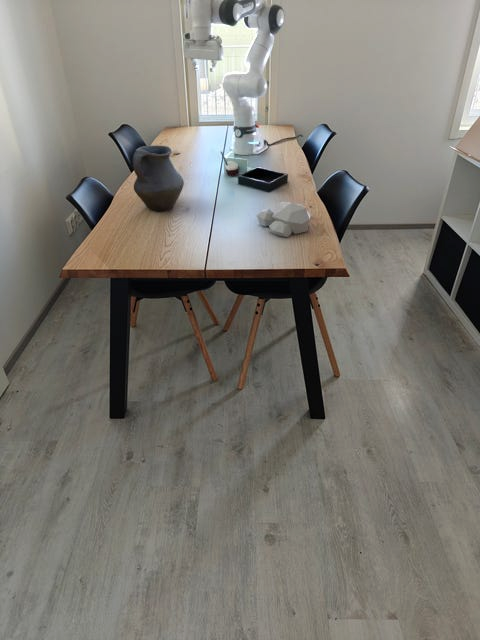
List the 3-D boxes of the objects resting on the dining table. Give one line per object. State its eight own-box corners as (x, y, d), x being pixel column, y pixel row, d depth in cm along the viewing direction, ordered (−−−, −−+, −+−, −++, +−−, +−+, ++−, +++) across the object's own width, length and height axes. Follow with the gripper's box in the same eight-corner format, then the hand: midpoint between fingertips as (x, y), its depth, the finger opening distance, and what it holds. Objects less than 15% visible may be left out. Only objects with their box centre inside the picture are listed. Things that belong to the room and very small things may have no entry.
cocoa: (241, 173, 218) (240, 148, 211) (240, 177, 213) (240, 152, 206) (222, 173, 218) (221, 148, 211) (221, 177, 213) (220, 152, 206)
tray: (257, 175, 215) (257, 166, 213) (287, 182, 207) (288, 173, 204) (237, 184, 206) (237, 175, 203) (268, 192, 197) (269, 183, 194)
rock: (283, 242, 157) (284, 217, 151) (249, 224, 170) (249, 200, 164) (319, 229, 166) (322, 205, 160) (285, 212, 179) (286, 189, 173)
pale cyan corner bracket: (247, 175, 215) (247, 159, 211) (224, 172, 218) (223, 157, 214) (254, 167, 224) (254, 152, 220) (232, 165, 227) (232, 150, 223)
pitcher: (195, 203, 187) (191, 142, 172) (163, 222, 172) (155, 157, 157) (157, 194, 196) (150, 135, 181) (124, 211, 181) (113, 149, 166)
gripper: (225, 35, 190) (226, 71, 199) (189, 33, 199) (191, 68, 208) (217, 36, 186) (218, 73, 194) (180, 34, 195) (182, 70, 204)
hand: (204, 70), depth 201 cm, fingers open, 8 cm apart
